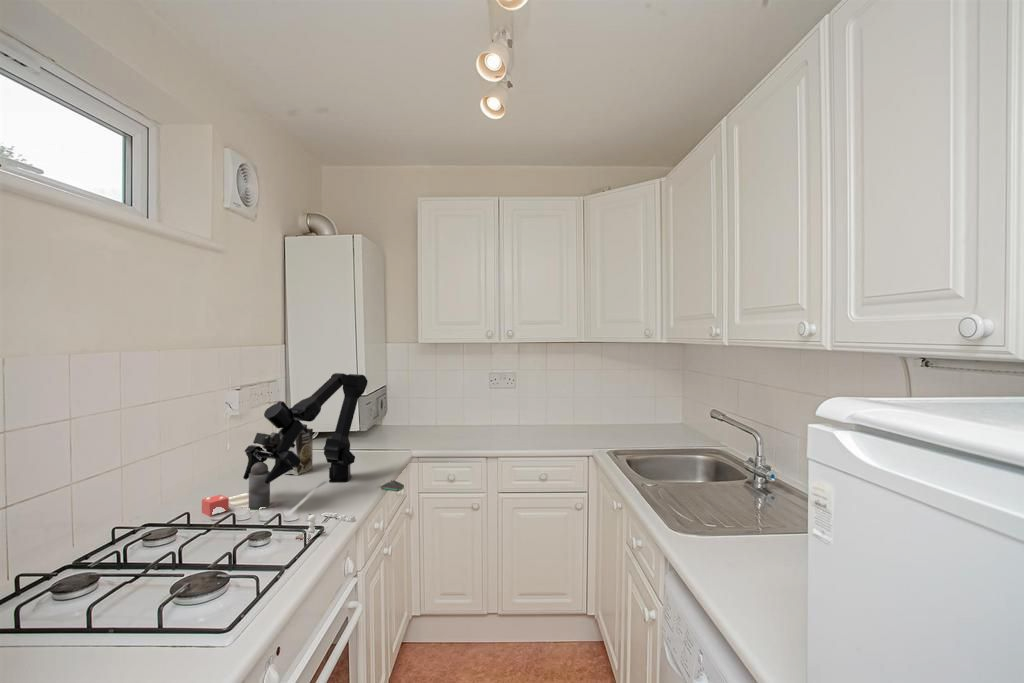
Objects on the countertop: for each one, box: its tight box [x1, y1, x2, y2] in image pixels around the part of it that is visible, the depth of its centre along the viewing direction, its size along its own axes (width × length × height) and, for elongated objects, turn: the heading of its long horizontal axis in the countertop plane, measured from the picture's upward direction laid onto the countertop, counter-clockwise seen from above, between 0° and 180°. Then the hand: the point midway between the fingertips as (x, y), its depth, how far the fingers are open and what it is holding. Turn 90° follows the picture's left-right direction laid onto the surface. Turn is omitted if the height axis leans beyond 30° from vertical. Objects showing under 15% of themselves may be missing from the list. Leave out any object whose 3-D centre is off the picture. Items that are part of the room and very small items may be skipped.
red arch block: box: [201, 494, 230, 517], centre depth 134 cm, size 5×5×6 cm
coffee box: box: [283, 427, 314, 476], centre depth 178 cm, size 9×6×16 cm
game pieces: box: [295, 479, 405, 541], centre depth 141 cm, size 45×13×6 cm, turn 160°
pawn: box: [248, 462, 271, 511], centre depth 139 cm, size 6×6×13 cm
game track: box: [228, 492, 277, 513], centre depth 142 cm, size 20×11×1 cm, turn 56°
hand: (255, 481), depth 137 cm, fingers open, 9 cm apart
